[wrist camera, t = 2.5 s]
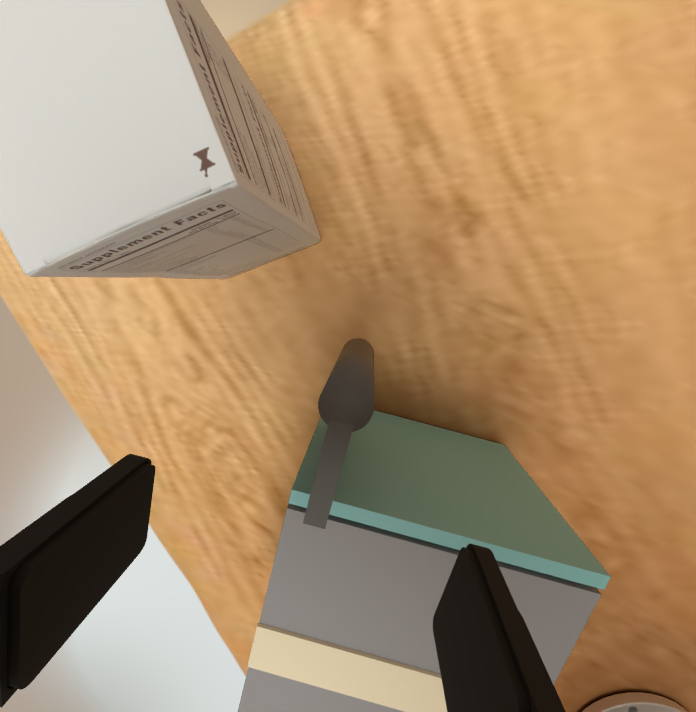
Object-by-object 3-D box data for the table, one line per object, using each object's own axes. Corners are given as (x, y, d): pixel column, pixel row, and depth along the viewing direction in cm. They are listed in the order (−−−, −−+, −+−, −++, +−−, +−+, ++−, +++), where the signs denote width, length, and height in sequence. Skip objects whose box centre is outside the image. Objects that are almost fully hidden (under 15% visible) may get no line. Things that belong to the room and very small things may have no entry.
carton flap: (533, 372, 28) (722, 479, 13) (501, 453, 29) (635, 631, 14) (347, 323, 28) (315, 370, 13) (326, 406, 30) (276, 532, 15)
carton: (498, 453, 30) (605, 598, 16) (437, 608, 34) (481, 830, 20) (325, 406, 30) (285, 510, 16) (285, 565, 34) (225, 756, 21)
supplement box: (282, 124, 26) (121, -157, 9) (324, 242, 27) (249, 179, 11) (175, 172, 27) (-132, 2, 11) (221, 282, 29) (15, 281, 12)
